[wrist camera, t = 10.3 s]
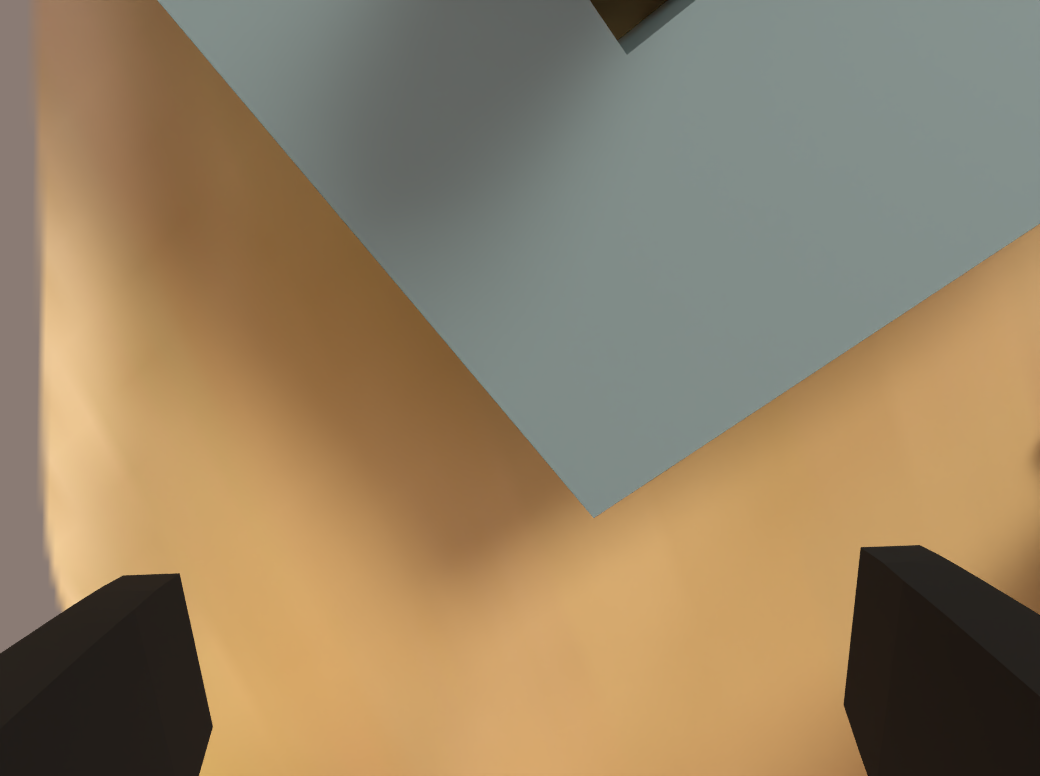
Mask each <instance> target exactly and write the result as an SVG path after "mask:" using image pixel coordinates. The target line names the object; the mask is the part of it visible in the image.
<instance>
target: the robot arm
mask: <svg viewBox="0 0 1040 776" xmlns="http://www.w3.org/2000/svg"><path fill="white" fill-rule="evenodd" d="M844 707H845V710H846V713H847V716H848V719H849V722H850V725H851V728H852V731H853V734H854V737H855V740H856V743H857V746H858V749H859V752H860V755H861V758H862V761H863V764H864V766H865V769H866V772H867V775H868V776H1040V615H1039V614H1037V613H1036V612H1034V611H1032V610H1031V609H1029V608H1027V607H1026V606H1024V605H1022V604H1021V603H1019V602H1018V601H1016V600H1014V599H1013V598H1011V597H1009V596H1008V595H1006V594H1004V593H1003V592H1001V591H999V590H998V589H996V588H994V587H993V586H991V585H989V584H988V583H986V582H985V581H983V580H981V579H980V578H978V577H976V576H974V575H973V574H971V573H969V572H968V571H966V570H964V569H963V568H961V567H959V566H958V565H956V564H954V563H952V562H951V561H949V560H947V559H945V558H943V557H942V556H940V555H938V554H936V553H934V552H932V551H930V550H928V549H926V548H924V547H922V546H920V545H912V546H886V547H861V550H860V559H859V568H858V578H857V587H856V596H855V605H854V614H853V624H852V633H851V642H850V651H849V660H848V670H847V679H846V688H845V697H844ZM212 728H213V725H212V721H211V716H210V712H209V707H208V702H207V698H206V693H205V688H204V684H203V679H202V675H201V670H200V665H199V661H198V656H197V652H196V647H195V642H194V638H193V633H192V629H191V624H190V619H189V615H188V610H187V606H186V601H185V596H184V592H183V587H182V583H181V578H180V573H178V574H152V575H126V576H122V577H120V578H118V579H116V580H114V581H112V582H110V583H109V584H107V585H105V586H103V587H102V588H100V589H98V590H97V591H95V592H93V593H92V594H90V595H89V596H87V597H85V598H84V599H82V600H81V601H79V602H77V603H76V604H74V605H73V606H71V607H70V608H68V609H67V610H65V611H64V612H62V613H61V614H59V615H58V616H56V617H54V618H53V619H52V620H50V621H48V622H47V623H45V624H44V625H42V626H41V627H40V628H38V629H36V630H35V631H33V632H32V633H30V634H29V635H28V636H26V637H24V638H23V639H21V640H20V641H18V642H17V643H15V644H14V645H12V646H11V647H9V648H8V649H6V650H5V651H3V652H2V653H0V776H199V773H200V770H201V766H202V763H203V759H204V756H205V752H206V749H207V745H208V742H209V738H210V735H211V731H212Z"/></svg>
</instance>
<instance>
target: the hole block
mask: <svg viewBox="0 0 1040 776" xmlns="http://www.w3.org/2000/svg"><path fill="white" fill-rule="evenodd" d="M158 2H159V3H160V4H161V5H162V6H163V8H164V9H165V10H166V11H167V12H168V13H169V15H170V16H171V17H172V18H173V19H174V21H175V22H176V23H177V24H178V25H179V27H180V28H181V29H182V30H183V31H184V32H185V34H186V35H187V36H188V37H189V38H190V40H191V41H192V42H193V43H194V44H195V46H196V47H197V48H198V49H199V50H200V51H201V53H202V54H203V55H204V56H205V57H206V59H207V60H208V61H209V62H210V63H211V65H212V66H213V67H214V68H215V69H216V70H217V72H218V73H219V74H220V75H221V76H222V78H223V79H224V80H225V81H226V82H227V84H228V85H229V86H230V87H231V88H232V89H233V91H234V92H235V93H236V94H237V95H238V97H239V98H240V99H241V100H242V101H243V102H244V104H245V105H246V106H247V107H248V108H249V110H250V111H251V112H252V113H253V114H254V116H255V117H256V118H257V119H258V120H259V121H260V123H261V124H262V125H263V126H264V127H265V129H266V130H267V131H268V132H269V133H270V135H271V136H272V137H273V138H274V139H275V140H276V142H277V143H278V144H279V145H280V146H281V148H282V149H283V150H284V151H285V152H286V154H287V155H288V156H289V157H290V158H291V159H292V161H293V162H294V163H295V164H296V165H297V167H298V168H299V169H300V170H301V171H302V173H303V174H304V175H305V176H306V177H307V178H308V180H309V181H310V182H311V183H312V184H313V186H314V187H315V188H316V189H317V190H318V192H319V193H320V194H321V195H322V196H323V197H324V199H325V200H326V201H327V202H328V203H329V205H330V206H331V207H332V208H333V209H334V210H335V212H336V213H337V214H338V215H339V216H340V218H341V219H342V220H343V221H344V222H345V224H346V225H347V226H348V227H349V228H350V229H351V231H352V232H353V233H354V234H355V235H356V237H357V238H358V239H359V240H360V241H361V243H362V244H363V245H364V246H365V247H366V248H367V250H368V251H369V252H370V253H371V254H372V256H373V257H374V258H375V259H376V260H377V262H378V263H379V264H380V265H381V266H382V267H383V269H384V270H385V271H386V272H387V273H388V275H389V276H390V277H391V278H392V279H393V281H394V282H395V283H396V284H397V285H398V286H399V288H400V289H401V290H402V291H403V292H404V294H405V295H406V296H407V297H408V298H409V300H410V301H411V302H412V303H413V304H414V305H415V307H416V308H417V309H418V310H419V311H420V313H421V314H422V315H423V316H424V317H425V319H426V320H427V321H428V322H429V323H430V324H431V326H432V327H433V328H434V329H435V330H436V332H437V333H438V334H439V335H440V336H441V337H442V339H443V340H444V341H445V342H446V343H447V345H448V346H449V347H450V348H451V349H452V351H453V352H454V353H455V354H456V355H457V356H458V358H459V359H460V360H461V361H462V362H463V364H464V365H465V366H466V367H467V368H468V370H469V371H470V372H471V373H472V374H473V375H474V377H475V378H476V379H477V380H478V381H479V383H480V384H481V385H482V386H483V387H484V389H485V390H486V391H487V392H488V393H489V394H490V396H491V397H492V398H493V399H494V400H495V402H496V403H497V404H498V405H499V406H500V408H501V409H502V410H503V411H504V412H505V413H506V415H507V416H508V417H509V418H510V419H511V421H512V422H513V423H514V424H515V425H516V427H517V428H518V429H519V430H520V431H521V432H522V434H523V435H524V436H525V437H526V438H527V440H528V441H529V442H530V443H531V444H532V445H533V447H534V448H535V449H536V450H537V451H538V453H539V454H540V455H541V456H542V457H543V459H544V460H545V461H546V462H547V463H548V464H549V466H550V467H551V468H552V469H553V470H554V472H555V473H556V474H557V475H558V476H559V478H560V479H561V480H562V481H563V482H564V483H565V485H566V486H567V487H568V488H569V489H570V491H571V492H572V493H573V494H574V495H575V497H576V498H577V499H578V500H579V501H580V502H581V504H582V505H583V506H584V507H585V508H586V510H587V511H588V512H589V513H590V514H591V516H592V517H593V518H595V517H596V516H598V515H599V514H601V513H602V512H604V511H605V510H607V509H608V508H610V507H611V506H613V505H614V504H616V503H617V502H619V501H620V500H622V499H623V498H625V497H626V496H628V495H629V494H631V493H632V492H634V491H635V490H637V489H638V488H640V487H641V486H643V485H644V484H646V483H648V482H649V481H651V480H652V479H654V478H655V477H657V476H658V475H660V474H661V473H663V472H664V471H666V470H667V469H669V468H670V467H672V466H673V465H675V464H676V463H678V462H679V461H681V460H682V459H684V458H685V457H687V456H688V455H690V454H691V453H693V452H694V451H696V450H698V449H699V448H701V447H702V446H704V445H705V444H707V443H708V442H710V441H711V440H713V439H714V438H716V437H717V436H719V435H720V434H722V433H723V432H725V431H726V430H728V429H729V428H731V427H732V426H734V425H735V424H737V423H738V422H740V421H741V420H743V419H744V418H746V417H747V416H749V415H751V414H752V413H754V412H755V411H757V410H758V409H760V408H761V407H763V406H764V405H766V404H767V403H769V402H770V401H772V400H773V399H775V398H776V397H778V396H779V395H781V394H782V393H784V392H785V391H787V390H788V389H790V388H791V387H793V386H794V385H796V384H797V383H799V382H801V381H802V380H804V379H805V378H807V377H808V376H810V375H811V374H813V373H814V372H816V371H817V370H819V369H820V368H822V367H823V366H825V365H826V364H828V363H829V362H831V361H832V360H834V359H835V358H837V357H838V356H840V355H841V354H843V353H844V352H846V351H847V350H849V349H851V348H852V347H854V346H855V345H857V344H858V343H860V342H861V341H863V340H864V339H866V338H867V337H869V336H870V335H872V334H873V333H875V332H876V331H878V330H879V329H881V328H882V327H884V326H885V325H887V324H888V323H890V322H891V321H893V320H894V319H896V318H897V317H899V316H900V315H902V314H904V313H905V312H907V311H908V310H910V309H911V308H913V307H914V306H916V305H917V304H919V303H920V302H922V301H923V300H925V299H926V298H928V297H929V296H931V295H932V294H934V293H935V292H937V291H938V290H940V289H941V288H943V287H944V286H946V285H947V284H949V283H950V282H952V281H954V280H955V279H957V278H958V277H960V276H961V275H963V274H964V273H966V272H967V271H969V270H970V269H972V268H973V267H975V266H976V265H978V264H979V263H981V262H982V261H984V260H985V259H987V258H988V257H990V256H991V255H993V254H994V253H996V252H997V251H999V250H1000V249H1002V248H1004V247H1005V246H1007V245H1008V244H1010V243H1011V242H1013V241H1014V240H1016V239H1017V238H1019V237H1020V236H1022V235H1023V234H1025V233H1026V232H1028V231H1029V230H1031V229H1032V228H1034V227H1035V226H1037V225H1038V224H1040V0H667V1H666V2H665V3H663V4H662V5H661V6H660V7H658V8H657V9H656V10H655V11H653V12H652V13H651V14H650V15H648V16H647V17H646V18H645V19H644V20H642V21H641V22H640V23H639V24H637V25H636V26H635V27H634V28H632V29H631V30H630V31H629V32H627V33H626V34H625V35H624V36H622V37H621V38H620V39H619V40H616V38H615V37H614V35H613V34H612V32H611V31H610V29H609V28H608V26H607V25H606V23H605V22H604V21H603V19H602V18H601V16H600V15H599V13H598V12H597V10H596V9H595V7H594V6H593V4H592V3H591V1H590V0H158Z"/></svg>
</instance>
